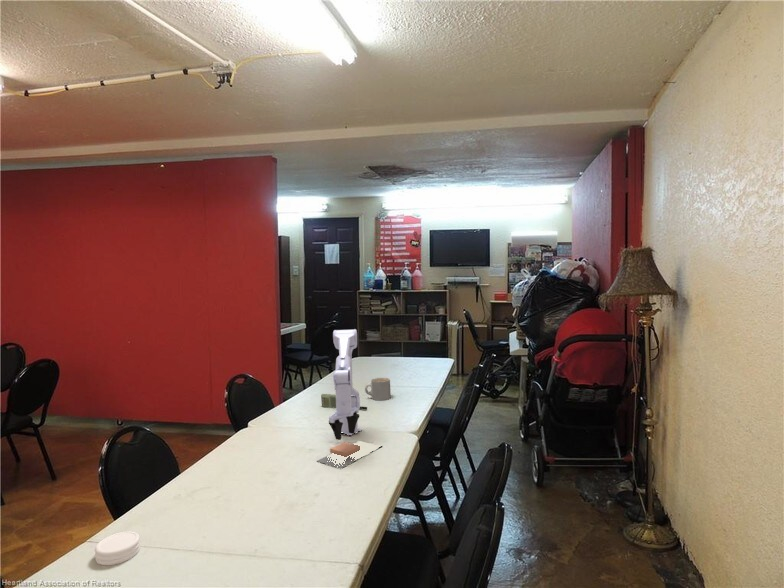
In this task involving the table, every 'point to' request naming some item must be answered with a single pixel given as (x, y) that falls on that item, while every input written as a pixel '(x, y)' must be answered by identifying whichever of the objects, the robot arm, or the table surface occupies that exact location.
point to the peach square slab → (345, 449)
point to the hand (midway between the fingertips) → (345, 436)
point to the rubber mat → (325, 459)
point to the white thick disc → (117, 548)
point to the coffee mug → (379, 389)
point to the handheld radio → (331, 401)
